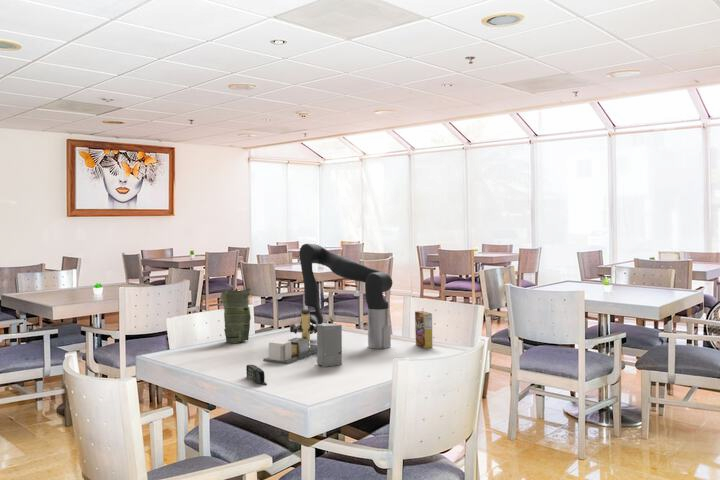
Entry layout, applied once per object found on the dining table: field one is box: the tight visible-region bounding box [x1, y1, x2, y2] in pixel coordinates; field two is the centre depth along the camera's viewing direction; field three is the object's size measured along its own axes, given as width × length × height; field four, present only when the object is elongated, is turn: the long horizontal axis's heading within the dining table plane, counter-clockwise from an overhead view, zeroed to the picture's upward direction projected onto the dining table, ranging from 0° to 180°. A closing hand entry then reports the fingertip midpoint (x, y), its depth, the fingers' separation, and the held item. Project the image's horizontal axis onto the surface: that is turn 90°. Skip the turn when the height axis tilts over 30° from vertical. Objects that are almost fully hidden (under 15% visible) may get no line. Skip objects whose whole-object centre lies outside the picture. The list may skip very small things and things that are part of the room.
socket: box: [268, 339, 291, 361], centre depth 243 cm, size 6×7×7 cm
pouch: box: [220, 288, 252, 344], centre depth 284 cm, size 11×12×25 cm
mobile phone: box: [245, 364, 268, 386], centre depth 212 cm, size 5×3×15 cm
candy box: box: [414, 310, 433, 349], centre depth 269 cm, size 9×4×15 cm, turn 23°
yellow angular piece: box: [291, 308, 311, 356], centre depth 251 cm, size 20×4×17 cm, turn 149°
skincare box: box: [316, 323, 343, 368], centre depth 236 cm, size 8×7×16 cm
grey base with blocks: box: [262, 337, 317, 365], centre depth 254 cm, size 32×12×6 cm, turn 150°
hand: (305, 331), depth 256 cm, fingers open, 8 cm apart
